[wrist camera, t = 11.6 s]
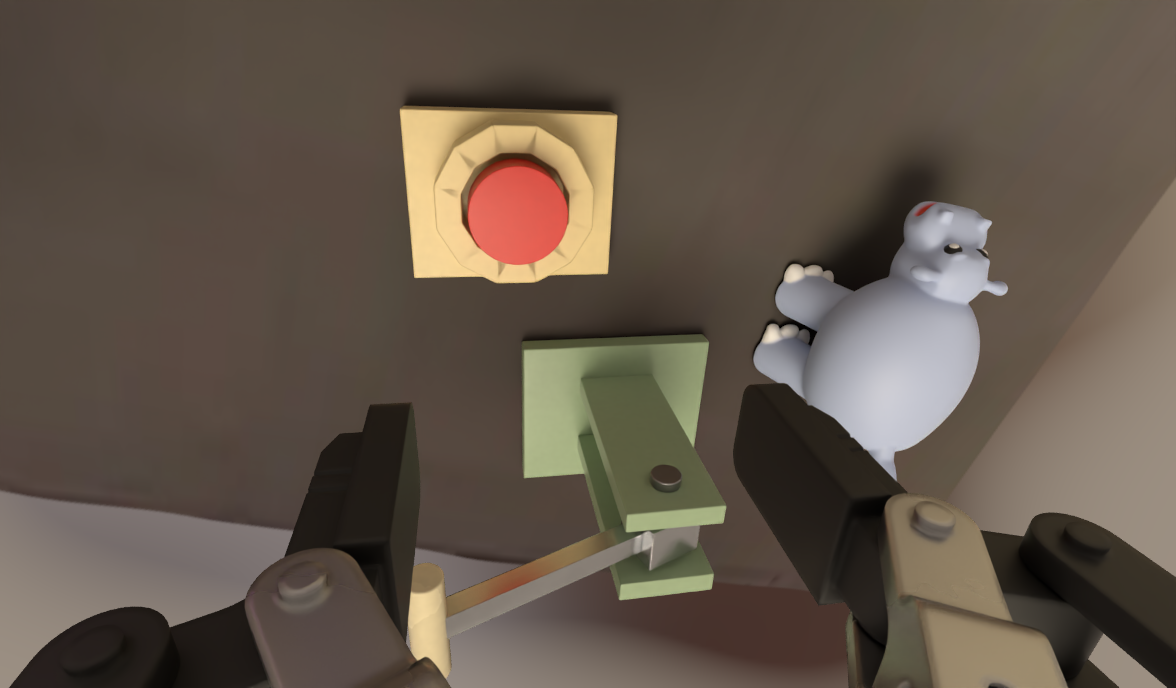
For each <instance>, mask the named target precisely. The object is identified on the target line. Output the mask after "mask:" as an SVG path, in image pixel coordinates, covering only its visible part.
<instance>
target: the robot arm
mask: <svg viewBox="0 0 1176 688" xmlns="http://www.w3.org/2000/svg"><path fill="white" fill-rule="evenodd" d="M733 458H734V466H735V470H736V473H737V475H738V477H739V479H740V481H741V483H742V484H743V486H744V487H745V489H746V490H747V492H748V494H749V495H750V497H751V498H752V500H753V502H754V503H755V505H756V506H757V508H758V510H759V511H760V513H761V514H762V516H763V518H764V519H765V521H766V522H767V524H768V526H769V527H770V529H771V530H772V532H773V534H774V535H775V537H776V538H777V540H778V542H779V543H780V545H781V546H782V548H783V549H784V551H785V553H786V554H787V556H788V557H789V559H790V561H791V562H792V564H793V565H794V567H795V569H796V570H797V572H798V573H799V575H800V577H801V578H802V580H803V581H804V583H805V585H806V586H807V588H808V589H809V591H810V593H811V594H812V596H813V597H814V599H815V601H816V602H817V604H818V605H827V604H833V603H842V602H845V603H846V604H847V606H848V607H849V609H850V613H849V616H848V619H847V622H846V647H847V664H848V682H849V688H1119V687H1118V686H1117V685H1116V684H1115V683H1113V681H1111V680H1110V679H1109V678H1108V677H1107V676H1106V675H1105V674H1104V673H1102V671H1100V670H1099V669H1098V668H1097V667H1096V666H1095V665H1094V664H1093V663H1092V662H1091V661H1089V660H1088V658H1089V656H1090V655H1091V653H1092V651H1093V650H1094V648H1095V646H1096V645H1097V643H1098V642H1099V640H1100V638H1101V636H1102V635H1103V633H1104V634H1105V635H1106V636H1108V637H1109V638H1110V639H1111V640H1112V641H1113V642H1115V643H1116V644H1117V645H1118V646H1119V647H1120V648H1122V649H1123V650H1124V651H1125V652H1126V653H1127V654H1129V655H1130V656H1131V657H1132V658H1133V659H1135V660H1136V661H1137V662H1138V663H1139V664H1141V665H1142V666H1143V667H1144V668H1145V669H1146V670H1148V671H1149V672H1150V673H1151V674H1152V675H1153V676H1155V677H1156V678H1157V679H1158V680H1159V681H1160V682H1162V683H1163V684H1164V685H1165V686H1166V687H1167V688H1176V577H1175V576H1173V575H1172V574H1170V573H1169V572H1168V571H1166V570H1164V569H1163V568H1162V567H1160V566H1159V565H1157V564H1156V563H1155V562H1153V561H1152V560H1150V559H1149V558H1147V557H1146V556H1145V555H1143V554H1142V553H1140V552H1139V551H1137V550H1136V549H1134V548H1133V547H1132V546H1130V545H1129V544H1127V543H1126V542H1124V541H1123V540H1122V539H1120V538H1119V537H1117V536H1116V535H1114V534H1113V533H1111V532H1110V531H1108V530H1106V529H1104V528H1102V527H1100V526H1098V525H1096V524H1094V523H1092V522H1089V521H1087V520H1084V519H1081V518H1078V517H1075V516H1071V515H1067V514H1061V513H1043V514H1039V515H1037V516H1035V517H1034V518H1033V519H1032V521H1031V523H1030V525H1029V527H1028V529H1027V531H1026V533H1025V535H1024V537H1023V536H1016V535H1009V534H1002V533H995V532H988V531H982V530H979V528H978V526H977V525H976V524H975V522H973V520H972V519H971V518H970V517H969V516H967V515H966V514H965V513H964V512H962V511H961V510H959V509H958V508H956V507H954V506H953V505H951V504H949V503H947V502H945V501H943V500H940V499H937V498H935V497H931V496H928V495H923V494H917V493H908V492H907V491H906V490H905V489H904V488H903V487H902V486H901V485H900V484H899V483H898V482H897V481H896V480H895V479H894V478H893V477H892V476H891V475H890V474H889V473H888V472H887V471H886V470H885V469H884V468H883V467H882V466H881V465H880V464H879V463H878V462H877V461H876V460H875V459H874V458H873V457H872V456H871V455H870V454H869V453H868V452H867V451H864V450H863V447H862V446H861V445H860V444H859V443H858V442H857V441H856V440H855V439H854V438H851V437H850V433H849V432H848V431H847V430H846V429H845V428H844V427H843V426H842V425H841V424H840V423H839V422H838V421H837V420H836V419H835V418H833V417H831V416H830V415H828V414H826V413H825V412H823V411H821V410H819V409H818V408H816V407H814V406H812V405H807V404H806V403H805V402H804V401H803V400H802V399H801V398H800V396H799V395H798V394H797V393H796V392H795V391H794V390H793V389H792V388H791V387H790V386H789V385H788V384H786V383H774V384H756V385H749V386H747V388H746V389H745V391H744V394H743V399H742V404H741V410H740V415H739V421H738V426H737V432H736V437H735V443H734V449H733ZM419 506H420V471H419V460H418V450H417V440H416V429H415V419H414V410H413V405H412V403H393V404H374V405H370V407H369V409H368V413H367V417H366V421H365V425H364V428H363V432H359V433H343V434H339V435H338V436H337V437H336V438H335V439H334V440H333V441H332V442H331V443H330V444H329V445H328V446H327V447H326V448H325V449H324V450H323V451H322V452H321V455H320V457H319V460H318V463H317V466H316V469H315V472H314V476H313V477H312V480H311V483H310V486H309V489H308V493H307V494H306V497H305V500H304V503H303V506H302V508H301V511H300V514H299V517H298V520H297V523H296V525H295V528H294V531H293V534H292V537H291V540H290V542H289V545H288V548H287V551H286V554H285V557H284V558H282V559H280V560H279V561H277V562H275V563H274V564H272V565H271V566H269V567H268V568H267V569H266V570H264V571H263V572H262V573H261V574H260V575H259V576H258V577H257V578H256V580H255V581H254V582H253V584H252V585H251V587H250V589H249V590H248V593H247V596H246V598H245V599H244V600H242V601H240V602H238V603H236V604H234V605H232V606H230V607H227V608H225V609H222V610H220V611H217V612H214V613H211V614H208V615H205V616H202V617H200V618H196V619H194V620H191V621H188V622H185V623H182V624H179V625H176V626H173V627H169V625H168V622H167V620H166V619H165V617H164V616H163V615H162V614H160V613H159V612H158V611H155V610H153V609H151V608H145V607H124V608H118V609H114V610H109V611H106V612H103V613H100V614H97V615H95V616H92V617H90V618H87V619H85V620H83V621H81V622H79V623H77V624H75V625H74V626H72V627H70V628H69V629H67V630H65V631H64V632H63V633H61V634H59V635H58V636H57V637H55V638H54V639H53V640H51V641H50V642H49V643H48V644H47V645H45V647H43V648H42V649H41V650H40V651H39V652H38V653H37V654H36V655H35V657H34V658H33V659H32V660H31V661H30V662H29V664H28V665H27V666H26V667H25V668H24V670H23V671H22V672H21V674H20V675H19V676H18V677H17V679H16V680H15V681H14V682H13V684H12V685H11V686H10V687H9V688H451V687H450V685H449V684H448V682H447V681H446V679H445V677H444V676H443V674H442V673H441V671H440V670H439V668H438V667H437V666H436V664H435V663H434V662H433V661H432V660H431V659H430V658H428V657H423V658H422V659H420V660H417V659H416V658H415V657H414V656H413V654H412V653H411V651H410V649H409V648H408V646H407V644H406V636H407V626H408V616H409V606H410V596H411V586H412V576H413V565H414V556H415V546H416V536H417V526H418V516H419Z"/></svg>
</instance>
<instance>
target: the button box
mask: <svg viewBox="0 0 1176 688" xmlns="http://www.w3.org/2000/svg"><path fill="white" fill-rule="evenodd" d="M400 119H401V131H402V142H403V154H404V165H405V176H406V188H407V199H408V211H409V222H410V233H411V245H412V256H413V268H414V277H415V278H431V277H481V276H483V277H485V278H487V279H489V280H491V281H493V282H495V283H530V282H536V281H540V280H542V279H543V278H545V277H547V276H549V275H579V274H608V263H609V247H610V230H611V214H612V197H613V180H614V164H615V147H616V131H617V115H616V114H614V113H611V112H606V111H571V110H536V109H502V108H467V107H432V106H403V107H402V108H401V109H400ZM511 158H518V159H525V160H529V161H531V162H534V163H536V164H538V165H540V166H541V167H543V168H544V169H545V170H546V171H547V172H548V173H549V174H550V175H551V176H552V177H553V178H554V180H555V181H556V183H557V185H558V186H559V188H560V189H561V191H562V193H563V195H564V197H565V200H566V203H567V208H568V224H567V228H566V231H565V234H564V236H563V238H562V240H561V242H560V243H559V245H558V246H557V247H556V248H555V249H554V251H552V252H551V253H550V254H549V255H548V256H546V257H544V258H543V259H541V260H539V261H536V262H533V263H530V264H524V265H512V264H506V263H503V262H500V261H498V260H495V259H493V258H492V257H490V256H489V255H487V254H486V253H485V252H484V251H483V250H482V249H481V248H480V247H479V246H478V245H477V243H476V242H475V240H474V238H473V236H472V234H471V232H470V228H469V224H468V210H467V205H468V195H469V191H470V188H471V186H472V184H473V182H474V180H475V179H476V177H477V176H478V175H479V174H480V173H481V172H482V171H483V170H484V169H485V168H486V167H488V166H489V165H491V164H493V163H495V162H497V161H500V160H504V159H511Z"/></svg>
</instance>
